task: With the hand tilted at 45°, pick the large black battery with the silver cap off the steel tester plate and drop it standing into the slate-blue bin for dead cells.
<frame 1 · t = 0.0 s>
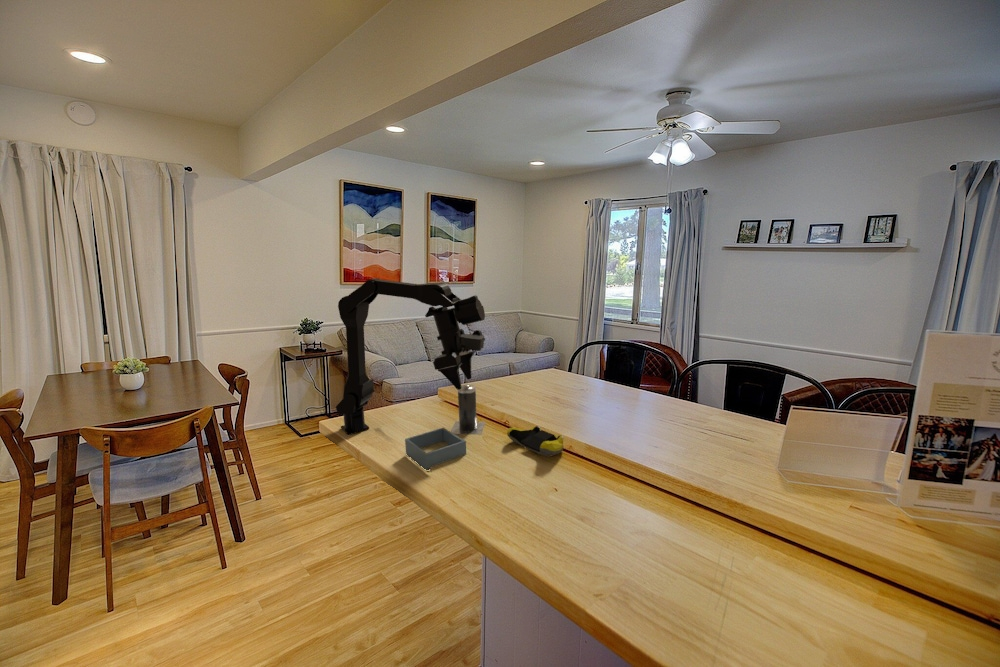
hand: (464, 383, 120), 15 cm above the counter, tool pointing down, fingers open, 9 cm apart
battery: (468, 427, 127), point 1 cm above the counter, touching tester plate
black and yellow shoe: (537, 451, 114), on the counter
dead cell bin: (436, 456, 112), on the counter
tester plate: (468, 430, 127), on the counter
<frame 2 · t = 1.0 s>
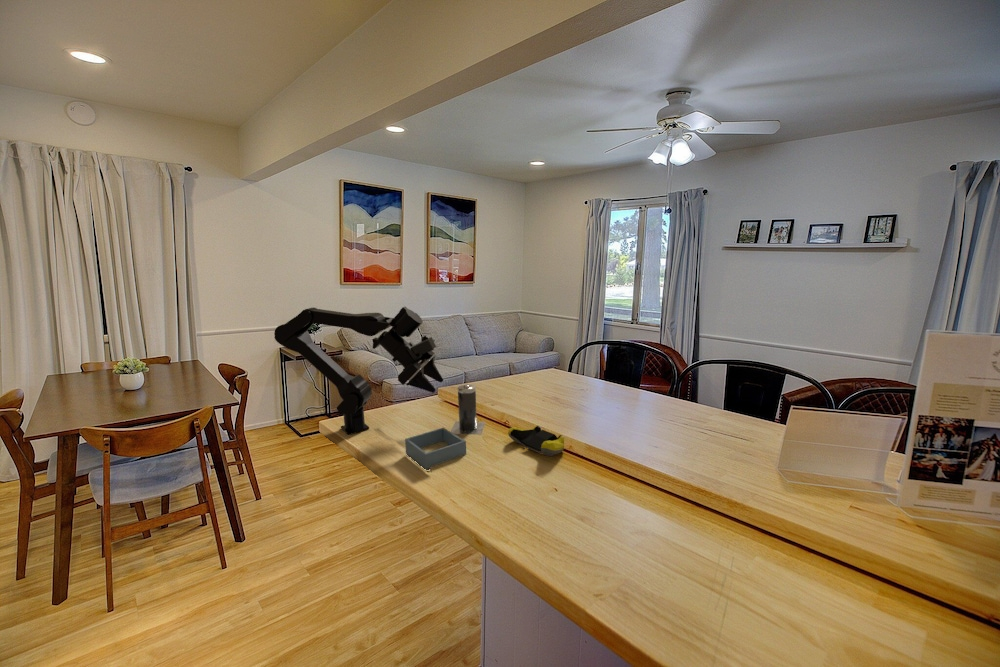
hand: (438, 386, 125), 13 cm above the counter, tool tilted 45°, fingers open, 9 cm apart
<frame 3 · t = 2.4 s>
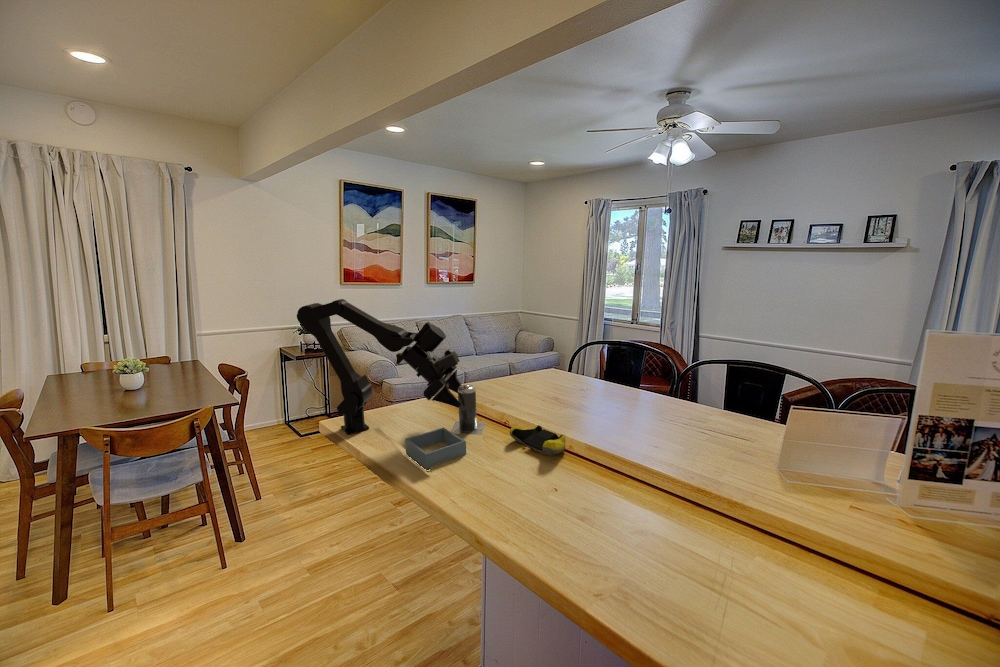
hand: (462, 400, 125), 9 cm above the counter, tool tilted 45°, fingers open, 9 cm apart
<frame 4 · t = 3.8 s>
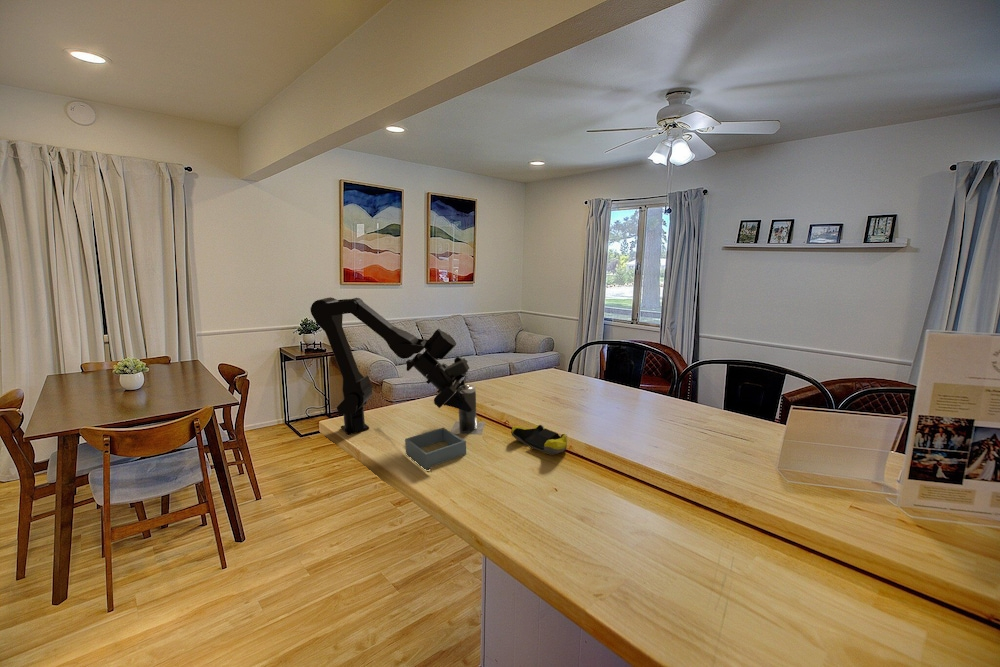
hand: (472, 407, 125), 7 cm above the counter, tool tilted 45°, fingers closed on battery, 5 cm apart
battery: (468, 427, 127), point 1 cm above the counter, touching gripper, tester plate
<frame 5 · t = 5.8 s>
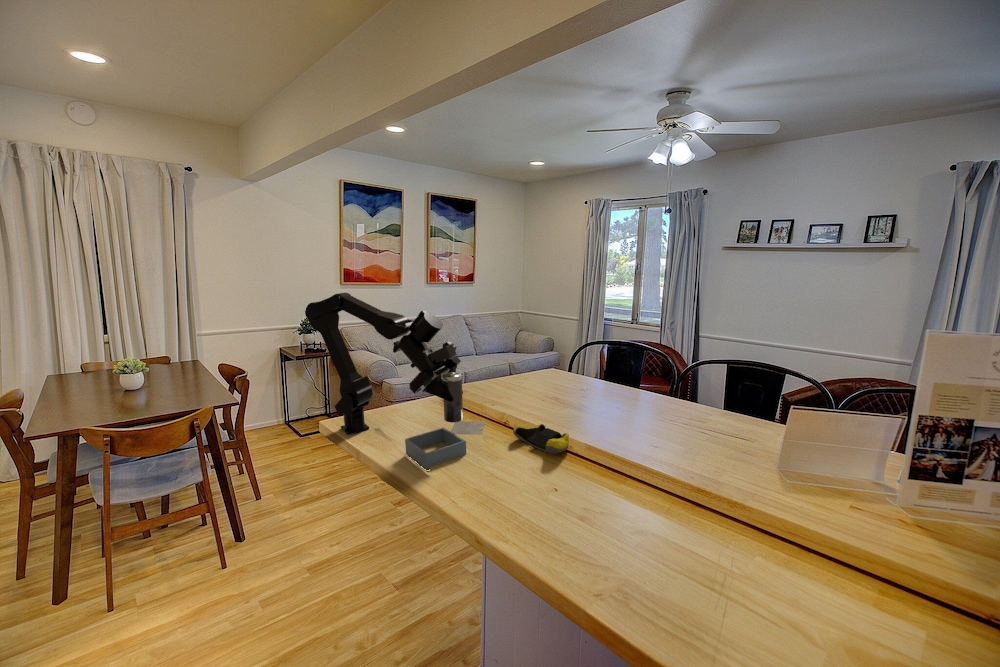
hand: (457, 397, 115), 13 cm above the counter, tool tilted 45°, fingers closed on battery, 5 cm apart
battery: (453, 418, 117), point 7 cm above the counter, touching gripper
when the fingers open (8 cm above the counter, at t = 8.1 s): battery drops 1 cm, resting on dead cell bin.
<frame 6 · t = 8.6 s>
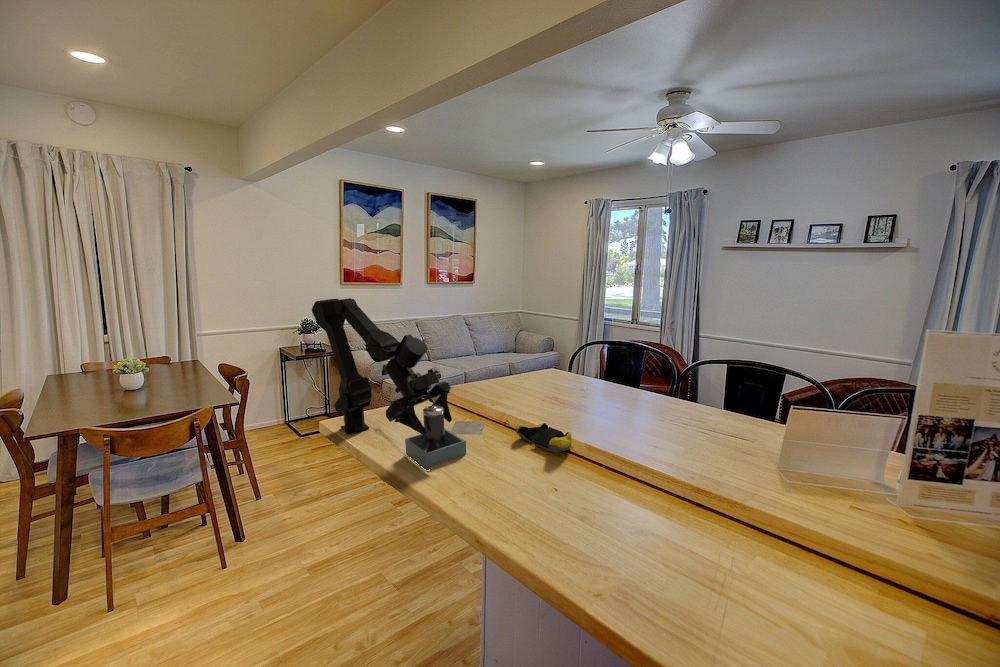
hand: (438, 427, 109), 8 cm above the counter, tool tilted 45°, fingers open, 9 cm apart
battery: (435, 453, 112), point 1 cm above the counter, touching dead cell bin
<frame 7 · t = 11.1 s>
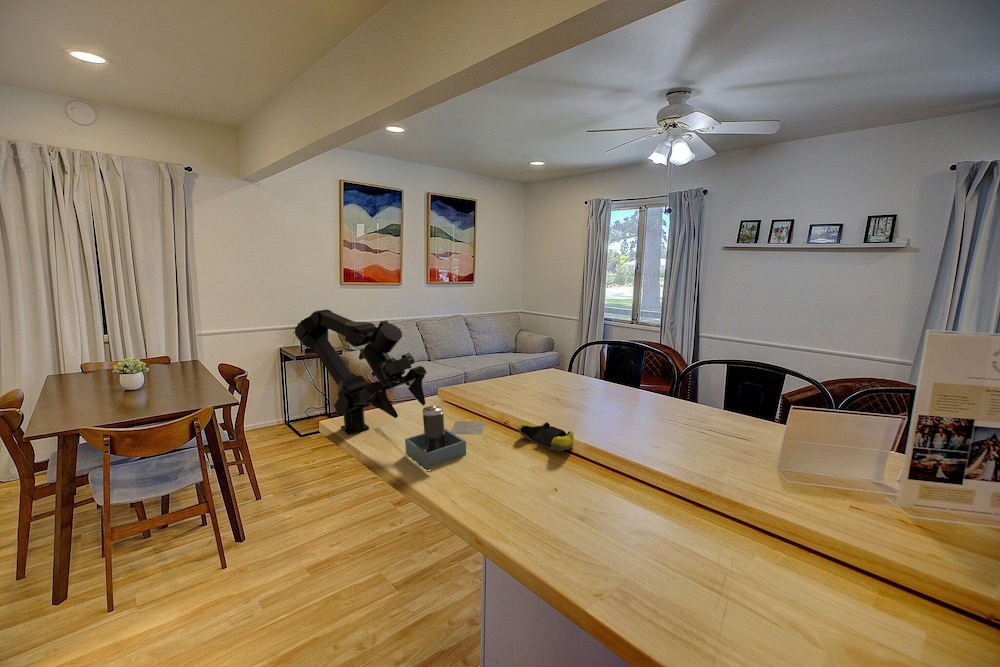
hand: (411, 410, 114), 11 cm above the counter, tool tilted 45°, fingers open, 9 cm apart
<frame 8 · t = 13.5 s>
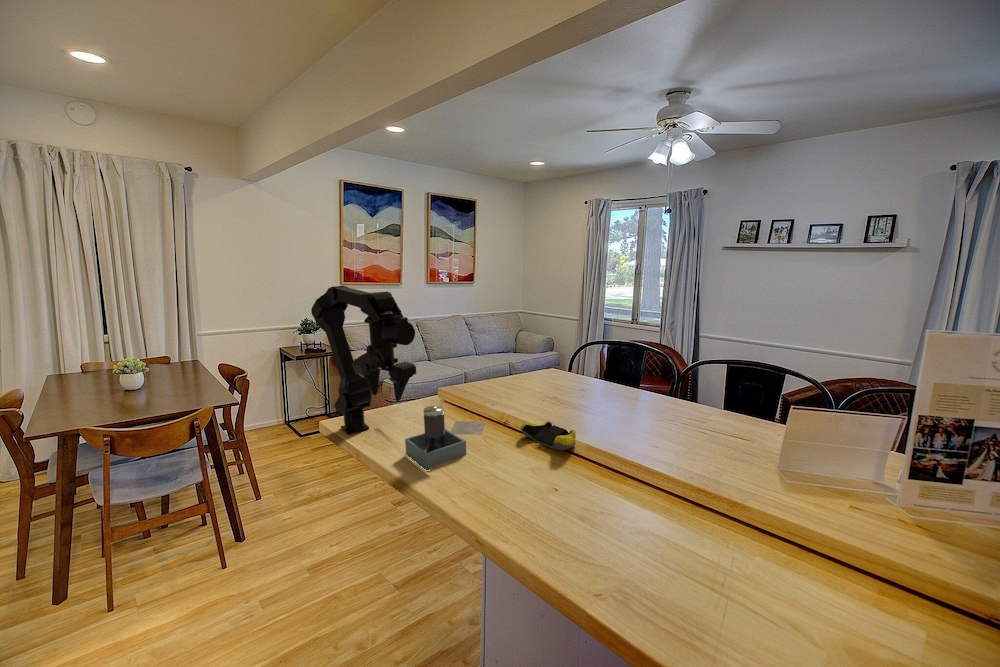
hand: (386, 397, 117), 13 cm above the counter, tool pointing down, fingers open, 9 cm apart
at the end: battery inside the target area on the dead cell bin (0.0 cm from its centre), point 0.6 cm above the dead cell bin's base; battery tilted 1°; the gripper is holding nothing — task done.
